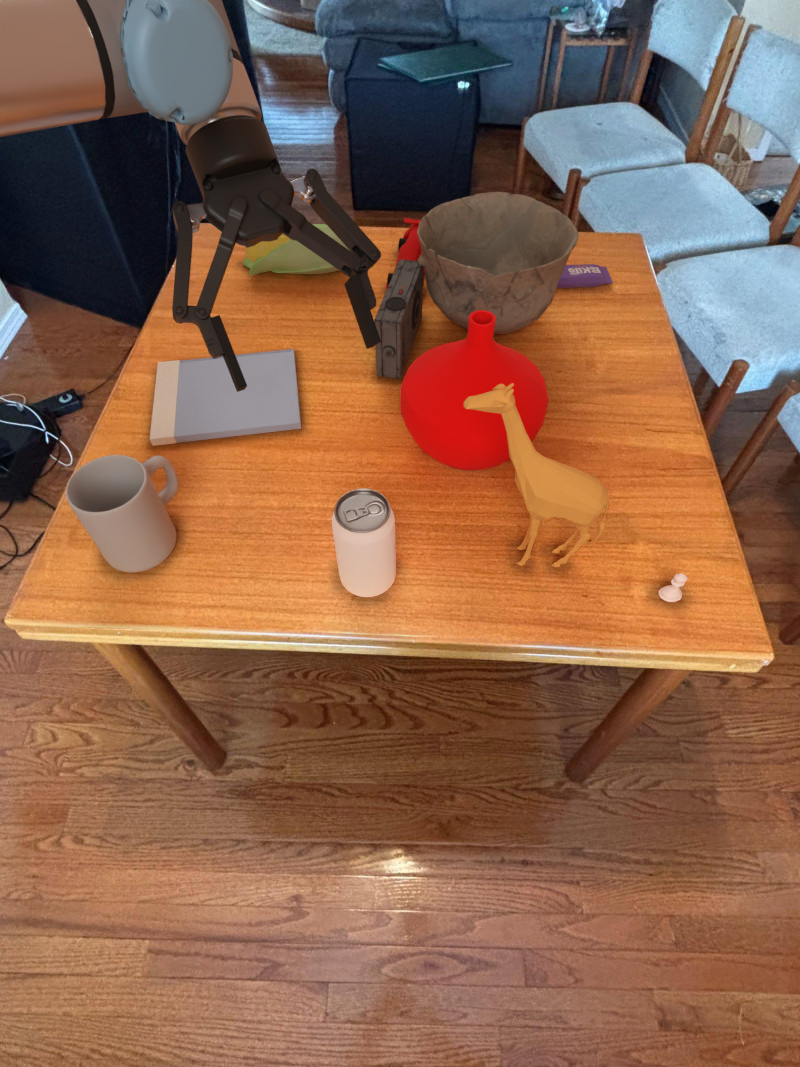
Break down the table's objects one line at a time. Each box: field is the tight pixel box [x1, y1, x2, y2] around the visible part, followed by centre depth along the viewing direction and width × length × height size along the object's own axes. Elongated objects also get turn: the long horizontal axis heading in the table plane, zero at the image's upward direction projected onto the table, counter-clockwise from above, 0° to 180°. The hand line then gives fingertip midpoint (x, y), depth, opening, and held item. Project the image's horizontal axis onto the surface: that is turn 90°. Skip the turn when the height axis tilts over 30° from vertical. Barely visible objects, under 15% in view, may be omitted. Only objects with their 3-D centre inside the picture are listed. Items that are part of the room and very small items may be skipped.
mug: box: [65, 454, 180, 573], centre depth 72 cm, size 12×8×11 cm
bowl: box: [417, 191, 580, 335], centre depth 95 cm, size 22×22×15 cm
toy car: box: [385, 217, 425, 289], centre depth 107 cm, size 6×18×5 cm, turn 170°
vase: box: [399, 310, 549, 471], centre depth 78 cm, size 18×18×19 cm
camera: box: [373, 259, 424, 380], centre depth 93 cm, size 16×4×10 cm, turn 167°
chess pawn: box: [658, 572, 688, 603], centre depth 69 cm, size 3×2×4 cm
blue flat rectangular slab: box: [149, 348, 302, 447], centre depth 90 cm, size 20×16×1 cm
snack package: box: [557, 263, 614, 289], centre depth 107 cm, size 12×2×5 cm
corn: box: [242, 223, 350, 277], centre depth 107 cm, size 8×8×20 cm
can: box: [331, 488, 397, 598], centre depth 68 cm, size 6×6×12 cm
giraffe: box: [463, 383, 610, 568], centre depth 64 cm, size 16×4×25 cm, turn 83°
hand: (310, 367), depth 61 cm, fingers open, 13 cm apart
